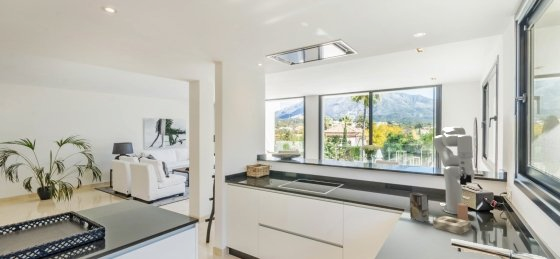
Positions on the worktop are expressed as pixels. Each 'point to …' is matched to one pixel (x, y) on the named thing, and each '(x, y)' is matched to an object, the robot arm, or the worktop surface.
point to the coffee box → (419, 207)
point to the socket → (452, 224)
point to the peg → (462, 211)
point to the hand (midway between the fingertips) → (465, 183)
